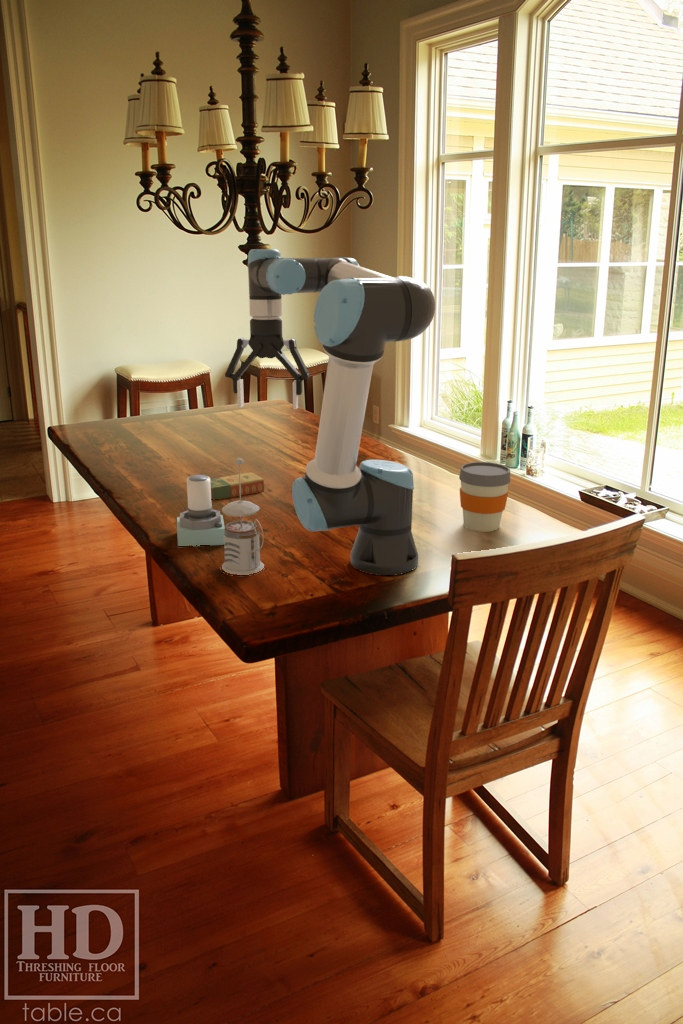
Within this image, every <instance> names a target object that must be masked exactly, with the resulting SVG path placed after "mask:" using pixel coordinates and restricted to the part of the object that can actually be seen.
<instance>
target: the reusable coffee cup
mask: <svg viewBox="0 0 683 1024" xmlns="http://www.w3.org/2000/svg"><path fill="white" fill-rule="evenodd" d="M459 480H460V488H459V498H460V499H459V500H460V507H461V508H462V517H463V518H462V519H463V526H464V527H465V528H466V529H468V530H470V531H475V532H483V533H484V532H485V533H488V532H493V531H494V530H495V531H497V530H498V528H499V529H500V526H501V522H502V517H503V512H504V511H505V509H506V505H507V500H508V496H509V491H508V488H509V485H510V483H511V469H510V468H509V466H507V465H504V464H501V463H497V462H490V461H474V462H473V461H472V462H467V463H465V464H463V465H460V472H459Z"/></svg>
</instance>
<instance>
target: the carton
mask: <svg viewBox="0 0 683 1024" xmlns="http://www.w3.org/2000/svg"><path fill="white" fill-rule="evenodd" d="M210 483H211V499H218V500H221V499H220V498H224V499H230V498H235V497H240V487H239V473H236V474H231V475H225V476H219V477H212V478H210ZM240 483H241V496H245V495H251V494H256V493H262V492H265V480H264V478H263V477H261V476H260V475H257V474H255V473H254V472H252V471H249V472H243V473H241V472H240ZM229 497H230V498H229Z"/></svg>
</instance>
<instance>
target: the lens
mask: <svg viewBox="0 0 683 1024" xmlns="http://www.w3.org/2000/svg"><path fill="white" fill-rule="evenodd" d="M210 479H211V477H210V476H208V475H206V474H193V475H190V476H188V477H187V478H186V490H187V491H186V493H187V495H186V496H187V510H188V516H189V519H190V520H194V521H195V520H208V519H211V518H212V509H213V505H212V500H211V483H210Z"/></svg>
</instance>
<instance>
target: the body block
mask: <svg viewBox="0 0 683 1024" xmlns="http://www.w3.org/2000/svg"><path fill="white" fill-rule="evenodd" d="M224 521H225V520H224V517H223V514H221V511H220V510H216V509H214V508H212V518H211V519H208V520H195V521H194V520H190V519H189V516H188V509H186V511H182V512H179V516H177V517H176V534H177V536H176V537H177V547H178V546H189V545H190V546H191V545H192V546H193V547H201V546H200V545H210V546H223V545H225V543H224V532H225V531H226V529H225V522H224ZM196 545H197V546H196Z"/></svg>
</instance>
